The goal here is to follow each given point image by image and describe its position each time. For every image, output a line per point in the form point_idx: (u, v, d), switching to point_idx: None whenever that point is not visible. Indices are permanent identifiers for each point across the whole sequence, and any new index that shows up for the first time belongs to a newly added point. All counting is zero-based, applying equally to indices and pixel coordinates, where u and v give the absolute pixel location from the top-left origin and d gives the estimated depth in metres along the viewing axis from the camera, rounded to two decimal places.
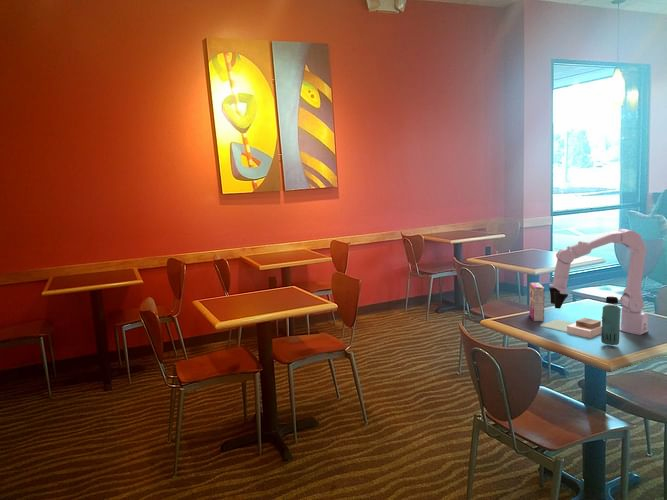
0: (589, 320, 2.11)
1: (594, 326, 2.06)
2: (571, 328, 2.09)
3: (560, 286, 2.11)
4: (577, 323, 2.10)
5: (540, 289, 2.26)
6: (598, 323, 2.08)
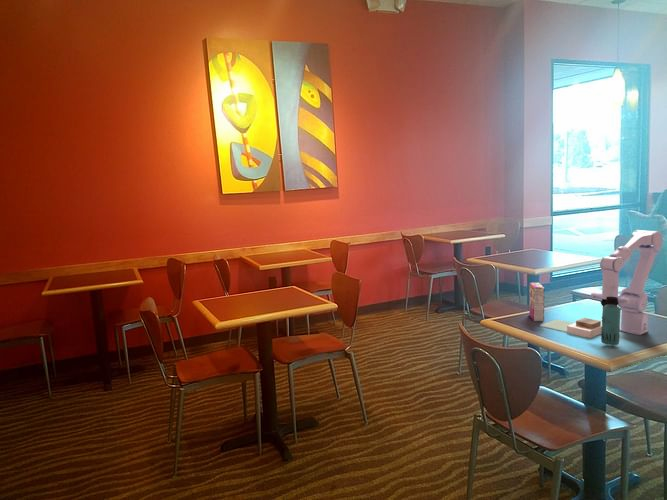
0: (589, 320, 2.11)
1: (594, 326, 2.06)
2: (571, 328, 2.09)
3: (617, 296, 1.99)
4: (577, 323, 2.10)
5: (540, 289, 2.26)
6: (598, 323, 2.08)
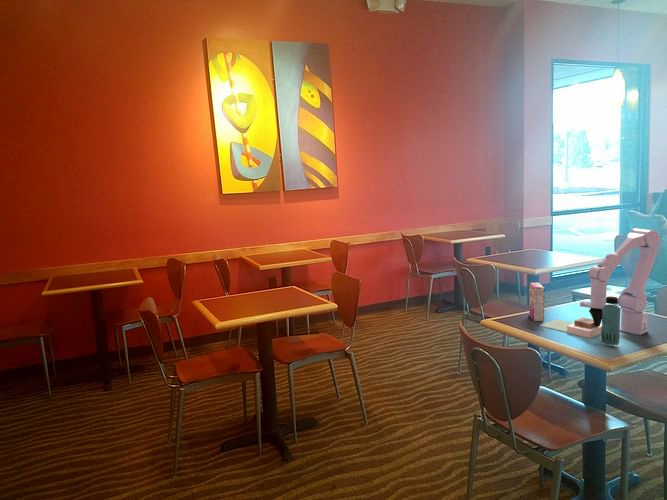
0: (587, 320, 2.11)
1: (592, 326, 2.07)
2: (571, 328, 2.09)
3: (604, 305, 2.03)
4: (575, 323, 2.11)
5: (540, 289, 2.26)
6: None
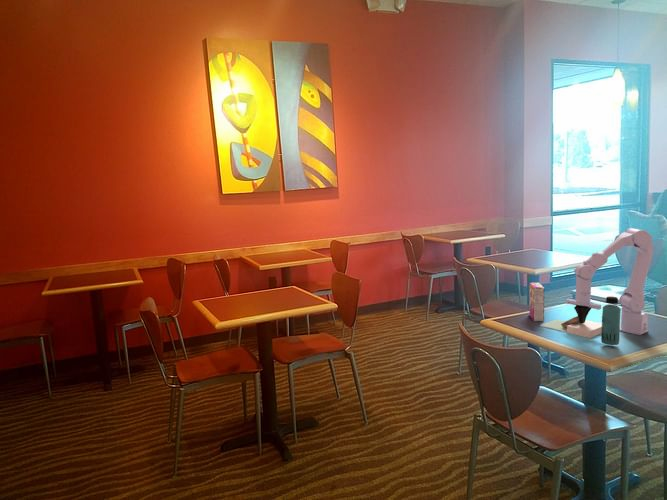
0: None
1: (577, 319, 2.12)
2: (571, 328, 2.09)
3: (589, 302, 2.08)
4: (563, 325, 2.16)
5: (540, 289, 2.26)
6: None
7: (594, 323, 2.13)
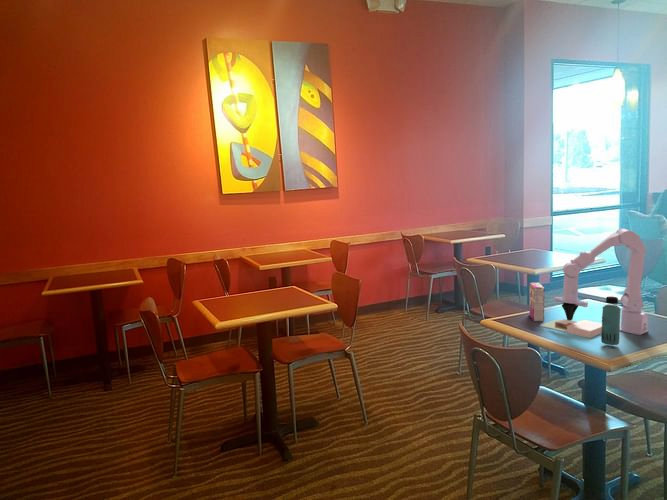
0: (568, 321, 2.19)
1: None
2: (571, 328, 2.09)
3: (576, 300, 2.13)
4: (556, 324, 2.19)
5: (540, 289, 2.26)
6: None
7: (594, 323, 2.13)
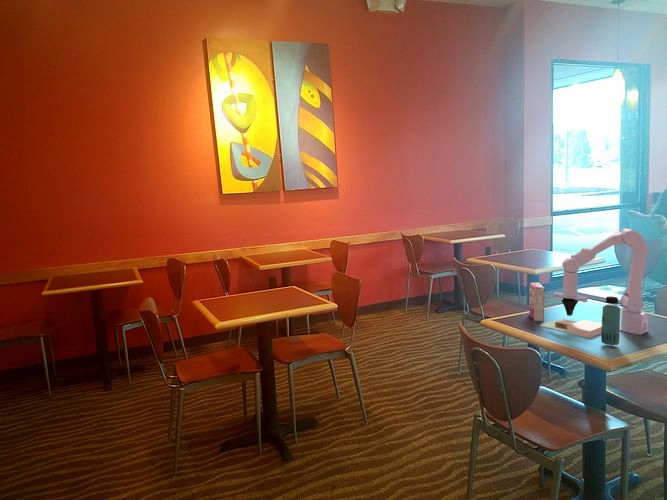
0: (568, 321, 2.19)
1: None
2: (571, 328, 2.09)
3: (576, 295, 2.13)
4: (556, 324, 2.19)
5: (540, 289, 2.26)
6: None
7: (594, 323, 2.13)
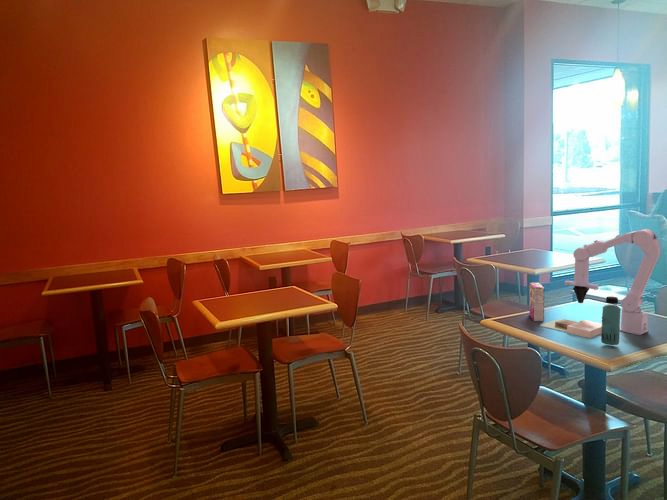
0: (568, 321, 2.19)
1: None
2: (571, 328, 2.09)
3: (587, 283, 2.19)
4: (556, 324, 2.19)
5: (540, 289, 2.26)
6: None
7: (594, 323, 2.13)
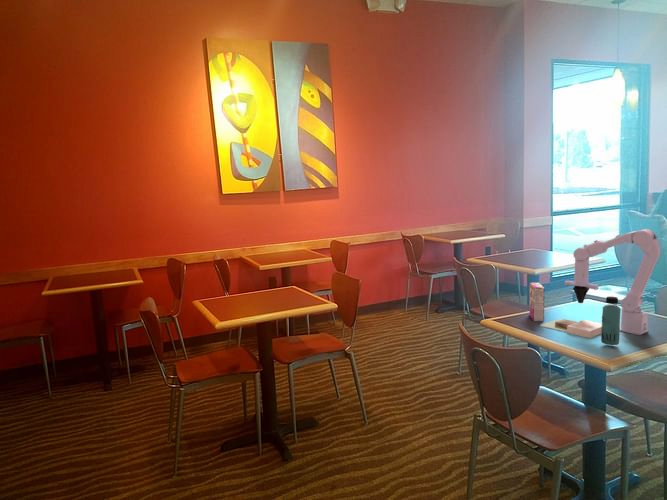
0: (568, 321, 2.19)
1: None
2: (571, 328, 2.09)
3: (587, 283, 2.19)
4: (556, 324, 2.19)
5: (540, 289, 2.26)
6: None
7: (594, 323, 2.13)
